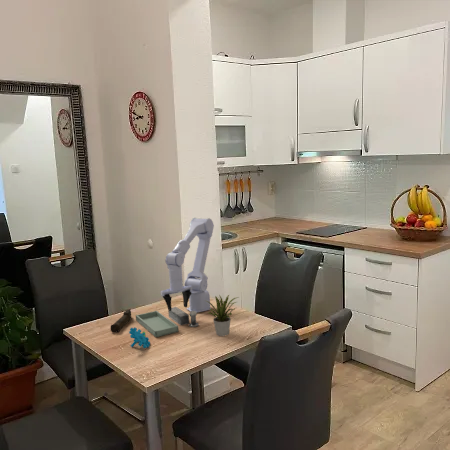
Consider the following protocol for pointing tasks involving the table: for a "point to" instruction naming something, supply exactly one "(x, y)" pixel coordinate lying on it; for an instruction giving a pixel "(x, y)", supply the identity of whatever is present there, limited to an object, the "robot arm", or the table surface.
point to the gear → (139, 338)
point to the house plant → (222, 316)
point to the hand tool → (121, 321)
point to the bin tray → (156, 323)
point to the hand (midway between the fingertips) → (177, 308)
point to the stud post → (193, 319)
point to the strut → (179, 316)
